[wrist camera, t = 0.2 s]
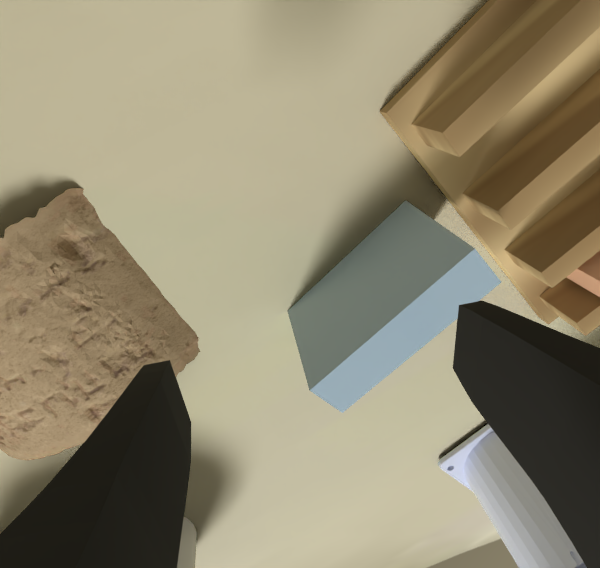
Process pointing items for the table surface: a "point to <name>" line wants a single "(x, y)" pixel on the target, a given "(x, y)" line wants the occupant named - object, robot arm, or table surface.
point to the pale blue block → (384, 304)
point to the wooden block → (588, 275)
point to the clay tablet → (74, 327)
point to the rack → (518, 142)
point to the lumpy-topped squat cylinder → (187, 545)
